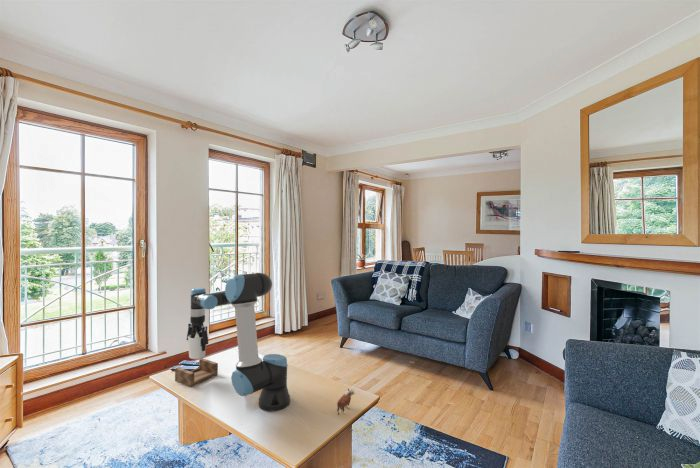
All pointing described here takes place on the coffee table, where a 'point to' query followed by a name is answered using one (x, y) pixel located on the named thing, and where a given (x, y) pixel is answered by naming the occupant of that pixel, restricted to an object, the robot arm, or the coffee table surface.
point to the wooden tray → (197, 373)
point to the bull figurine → (345, 400)
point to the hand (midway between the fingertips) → (197, 354)
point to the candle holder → (194, 347)
